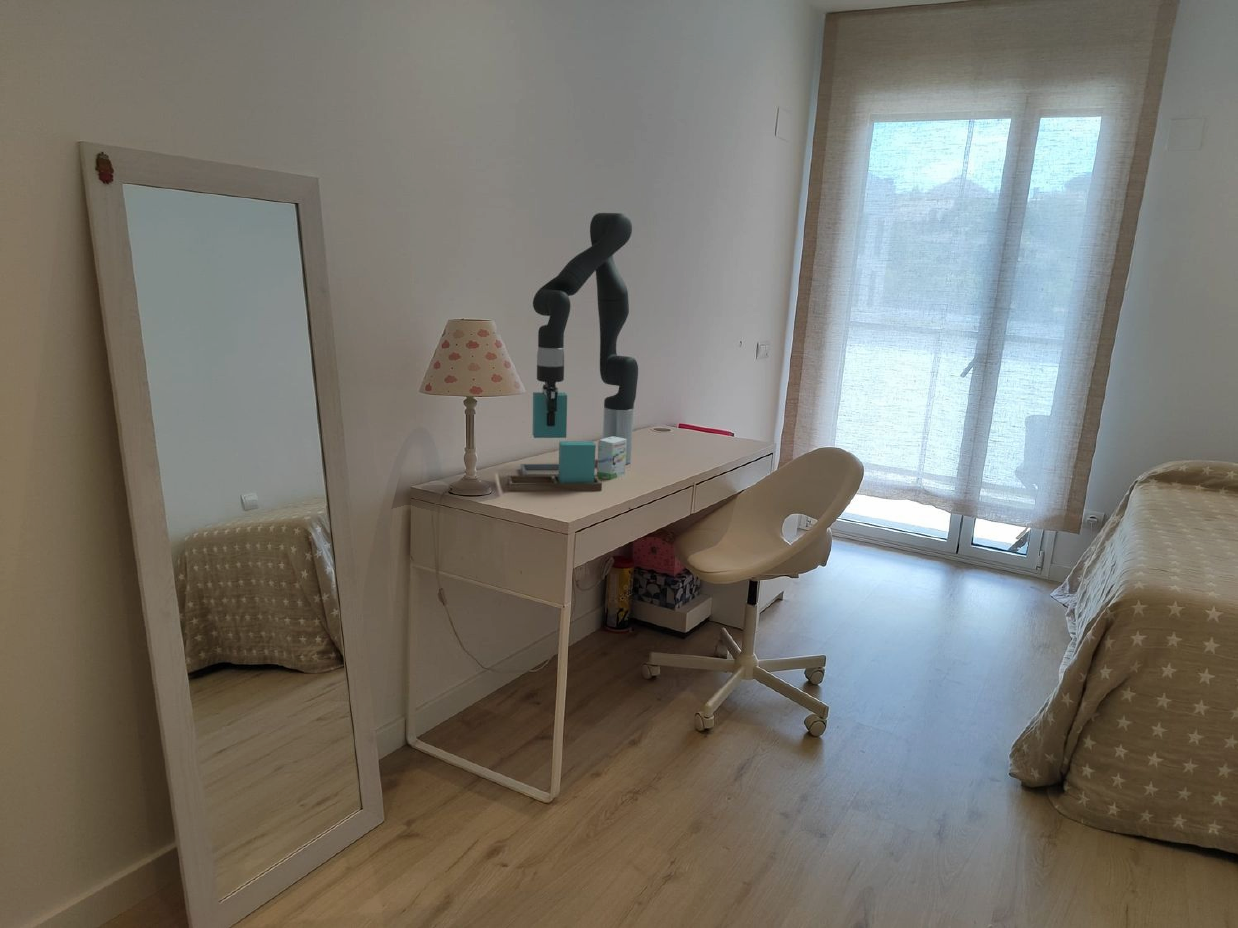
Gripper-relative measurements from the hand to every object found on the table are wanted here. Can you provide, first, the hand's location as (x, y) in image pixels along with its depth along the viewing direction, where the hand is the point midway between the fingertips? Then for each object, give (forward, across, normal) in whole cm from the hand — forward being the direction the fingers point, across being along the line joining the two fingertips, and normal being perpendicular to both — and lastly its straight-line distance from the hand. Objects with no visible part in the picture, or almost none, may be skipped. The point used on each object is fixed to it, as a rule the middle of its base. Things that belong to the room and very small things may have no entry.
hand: (549, 423), depth 225 cm
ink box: (+16, -2, -18) cm, 24 cm away
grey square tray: (+16, 0, 0) cm, 16 cm away
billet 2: (+14, -14, -6) cm, 21 cm away
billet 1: (+3, 0, 0) cm, 3 cm away
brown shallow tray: (+15, -14, 0) cm, 21 cm away
